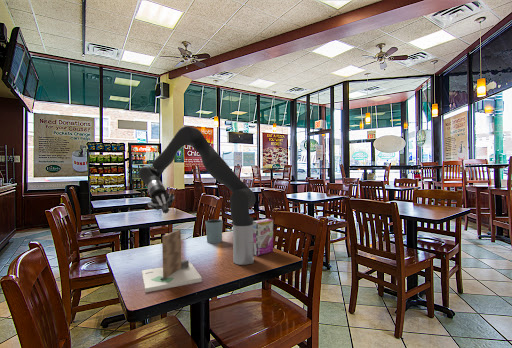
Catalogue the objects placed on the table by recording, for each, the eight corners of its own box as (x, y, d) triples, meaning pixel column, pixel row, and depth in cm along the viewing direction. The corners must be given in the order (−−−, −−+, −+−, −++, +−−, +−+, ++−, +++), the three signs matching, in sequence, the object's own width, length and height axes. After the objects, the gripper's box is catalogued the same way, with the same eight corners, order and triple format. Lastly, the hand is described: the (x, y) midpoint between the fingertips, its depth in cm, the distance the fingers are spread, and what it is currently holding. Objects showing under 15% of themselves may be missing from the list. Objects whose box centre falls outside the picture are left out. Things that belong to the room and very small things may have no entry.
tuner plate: (190, 266, 124) (190, 262, 124) (201, 281, 107) (201, 277, 107) (141, 274, 115) (141, 270, 115) (145, 292, 98) (145, 288, 98)
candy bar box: (257, 256, 135) (256, 222, 135) (250, 254, 139) (250, 221, 139) (274, 251, 143) (273, 219, 142) (267, 249, 146) (266, 218, 146)
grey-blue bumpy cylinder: (209, 244, 156) (208, 223, 156) (203, 240, 165) (202, 220, 165) (225, 242, 161) (225, 221, 161) (219, 238, 170) (219, 218, 169)
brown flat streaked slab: (181, 264, 121) (180, 227, 121) (190, 265, 120) (189, 227, 119) (156, 279, 105) (155, 237, 104) (166, 281, 103) (165, 237, 103)
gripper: (140, 189, 132) (148, 211, 120) (168, 180, 137) (179, 199, 124) (145, 201, 136) (153, 223, 124) (172, 191, 141) (182, 212, 129)
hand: (166, 211), depth 124 cm, fingers closed
